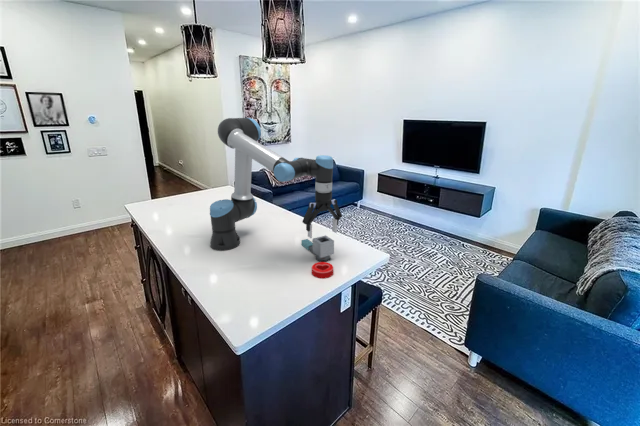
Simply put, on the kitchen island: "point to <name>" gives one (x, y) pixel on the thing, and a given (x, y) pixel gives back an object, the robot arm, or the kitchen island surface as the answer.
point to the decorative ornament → (322, 270)
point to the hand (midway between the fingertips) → (322, 234)
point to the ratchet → (309, 246)
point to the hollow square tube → (323, 246)
